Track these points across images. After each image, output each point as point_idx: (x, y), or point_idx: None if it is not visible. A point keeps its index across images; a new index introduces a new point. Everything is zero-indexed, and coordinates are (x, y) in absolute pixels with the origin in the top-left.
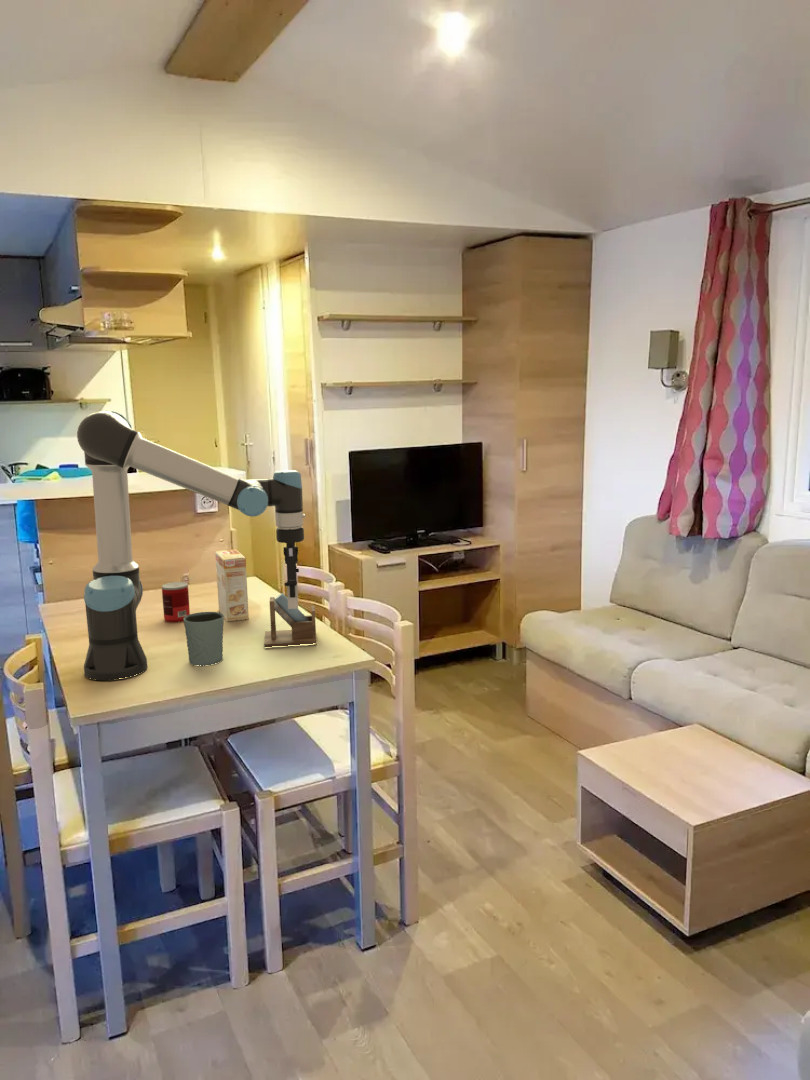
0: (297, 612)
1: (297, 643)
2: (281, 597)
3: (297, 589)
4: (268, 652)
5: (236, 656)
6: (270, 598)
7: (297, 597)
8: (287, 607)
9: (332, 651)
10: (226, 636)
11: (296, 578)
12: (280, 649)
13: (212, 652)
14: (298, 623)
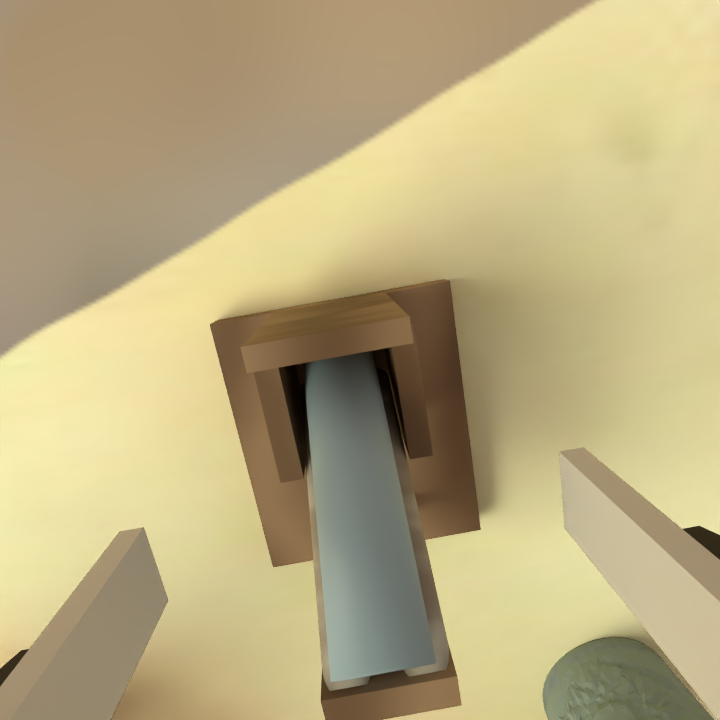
0: (383, 450)
1: (460, 378)
2: (428, 648)
3: (114, 570)
4: (528, 488)
5: (566, 599)
6: (366, 718)
7: (651, 504)
8: (410, 540)
9: (547, 176)
10: (294, 700)
11: (36, 690)
12: (490, 445)
13: (698, 702)
14: (425, 411)
